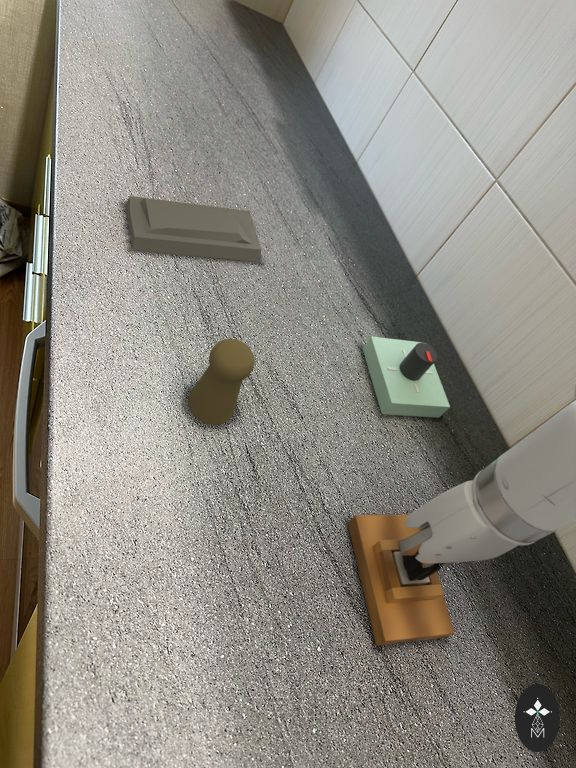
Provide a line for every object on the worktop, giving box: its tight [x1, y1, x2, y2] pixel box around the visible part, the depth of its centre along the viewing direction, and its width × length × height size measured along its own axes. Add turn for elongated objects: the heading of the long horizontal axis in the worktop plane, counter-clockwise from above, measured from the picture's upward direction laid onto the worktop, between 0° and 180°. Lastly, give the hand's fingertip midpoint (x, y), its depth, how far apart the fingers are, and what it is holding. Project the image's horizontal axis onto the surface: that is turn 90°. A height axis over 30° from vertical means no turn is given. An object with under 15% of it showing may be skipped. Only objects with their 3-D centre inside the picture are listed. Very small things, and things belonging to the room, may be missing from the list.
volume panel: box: [362, 336, 451, 419], centre depth 86 cm, size 10×12×3 cm
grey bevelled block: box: [124, 195, 262, 263], centre depth 89 cm, size 10×20×4 cm, turn 105°
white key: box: [392, 552, 430, 587], centre depth 65 cm, size 4×4×2 cm
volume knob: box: [400, 342, 438, 381], centre depth 83 cm, size 4×4×5 cm
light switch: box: [347, 514, 456, 647], centre depth 66 cm, size 9×14×4 cm, turn 10°
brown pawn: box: [187, 338, 256, 426], centre depth 68 cm, size 6×6×11 cm
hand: (411, 566), depth 64 cm, fingers closed
